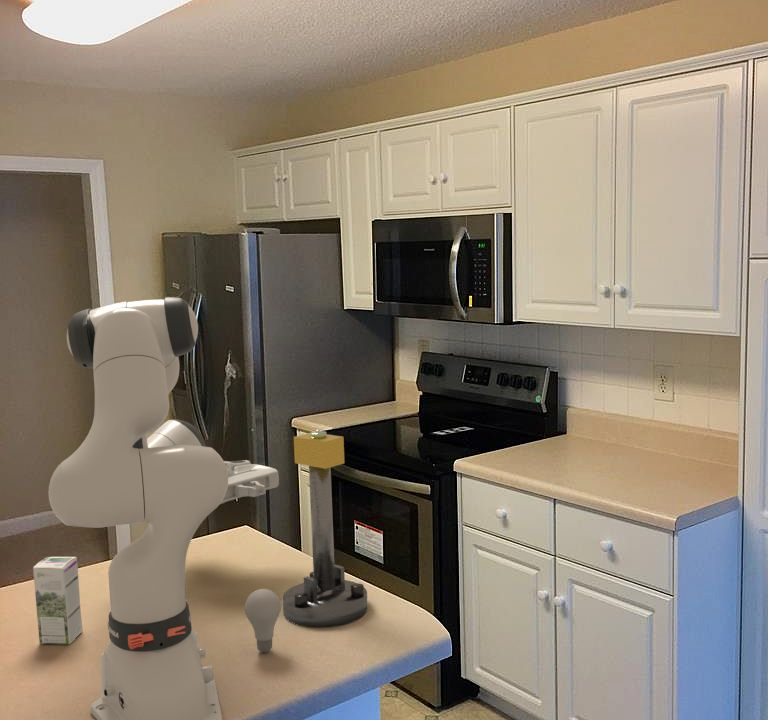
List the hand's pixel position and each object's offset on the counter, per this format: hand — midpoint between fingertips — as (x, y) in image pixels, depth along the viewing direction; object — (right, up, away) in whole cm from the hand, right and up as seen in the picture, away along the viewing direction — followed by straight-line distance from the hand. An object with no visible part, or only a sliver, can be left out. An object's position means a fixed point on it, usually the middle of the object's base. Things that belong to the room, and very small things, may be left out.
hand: (260, 491), depth 173 cm
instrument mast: (+14, -17, -9) cm, 23 cm away
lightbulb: (+4, -24, -25) cm, 35 cm away
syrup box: (-33, -24, -17) cm, 44 cm away
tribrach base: (+14, -21, -8) cm, 27 cm away
